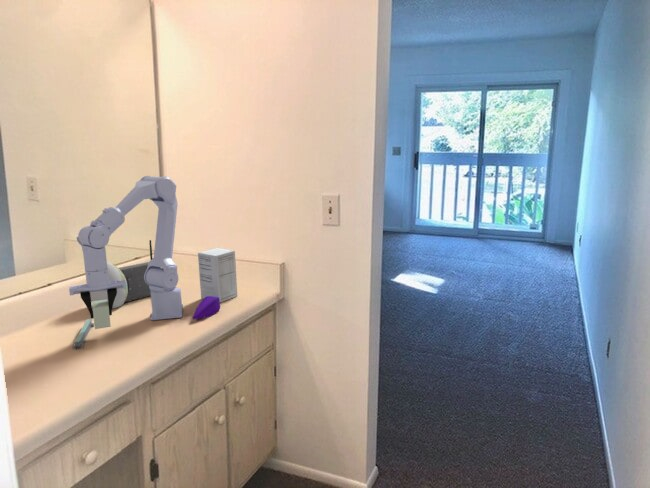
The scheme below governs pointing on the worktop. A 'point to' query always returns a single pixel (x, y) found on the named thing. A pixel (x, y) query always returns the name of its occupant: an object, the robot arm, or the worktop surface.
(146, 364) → the worktop surface
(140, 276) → the electronic device
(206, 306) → the crystal
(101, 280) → the robot arm
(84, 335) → the rail
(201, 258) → the supplement box
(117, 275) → the decorative egg
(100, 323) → the soap box
